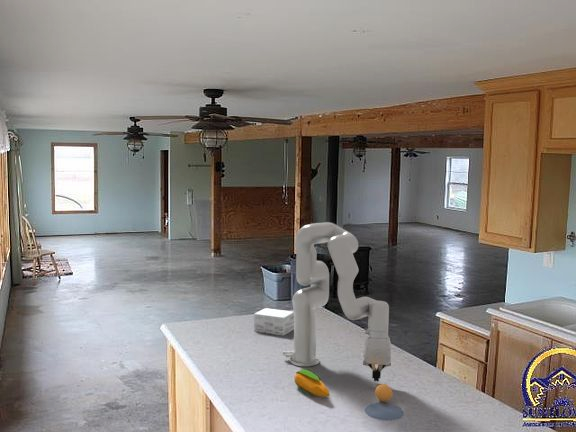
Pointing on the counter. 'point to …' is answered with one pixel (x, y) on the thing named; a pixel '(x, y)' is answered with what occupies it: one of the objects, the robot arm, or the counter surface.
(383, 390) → the ball
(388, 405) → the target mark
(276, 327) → the supplement box
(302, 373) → the corn
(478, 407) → the counter surface
